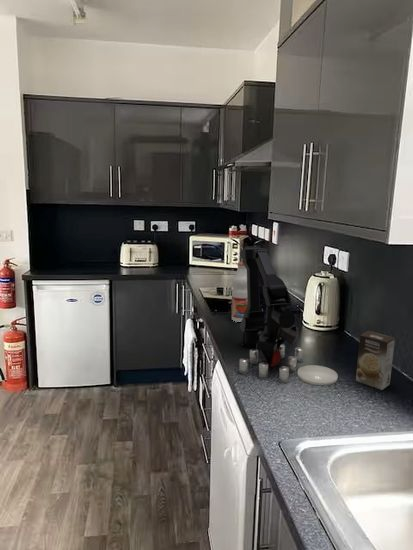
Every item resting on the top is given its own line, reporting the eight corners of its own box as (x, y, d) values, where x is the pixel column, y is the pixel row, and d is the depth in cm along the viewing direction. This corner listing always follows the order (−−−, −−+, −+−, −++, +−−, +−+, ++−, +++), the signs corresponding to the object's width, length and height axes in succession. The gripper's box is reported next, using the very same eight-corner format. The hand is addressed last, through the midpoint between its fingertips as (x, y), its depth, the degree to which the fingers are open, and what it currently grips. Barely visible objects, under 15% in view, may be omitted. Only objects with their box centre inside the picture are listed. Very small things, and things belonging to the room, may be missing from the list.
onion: (269, 361, 152) (270, 340, 150) (283, 365, 148) (284, 344, 147) (260, 366, 148) (261, 345, 146) (275, 371, 144) (276, 349, 142)
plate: (292, 380, 137) (292, 376, 137) (302, 365, 149) (303, 362, 148) (333, 388, 131) (333, 385, 131) (340, 373, 143) (340, 369, 143)
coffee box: (354, 381, 137) (358, 334, 134) (363, 375, 141) (367, 330, 138) (382, 390, 131) (387, 342, 127) (390, 384, 135) (395, 337, 132)
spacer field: (237, 373, 142) (238, 360, 141) (260, 351, 161) (260, 340, 160) (286, 383, 135) (287, 370, 134) (303, 359, 154) (304, 348, 153)
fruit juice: (244, 316, 206) (245, 260, 200) (255, 321, 198) (256, 263, 192) (227, 319, 202) (228, 261, 196) (238, 324, 194) (239, 264, 188)
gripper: (289, 330, 133) (287, 376, 136) (304, 315, 149) (301, 356, 152) (256, 325, 138) (254, 369, 141) (274, 311, 154) (272, 351, 157)
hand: (272, 361), depth 148 cm, fingers closed on onion, 6 cm apart
